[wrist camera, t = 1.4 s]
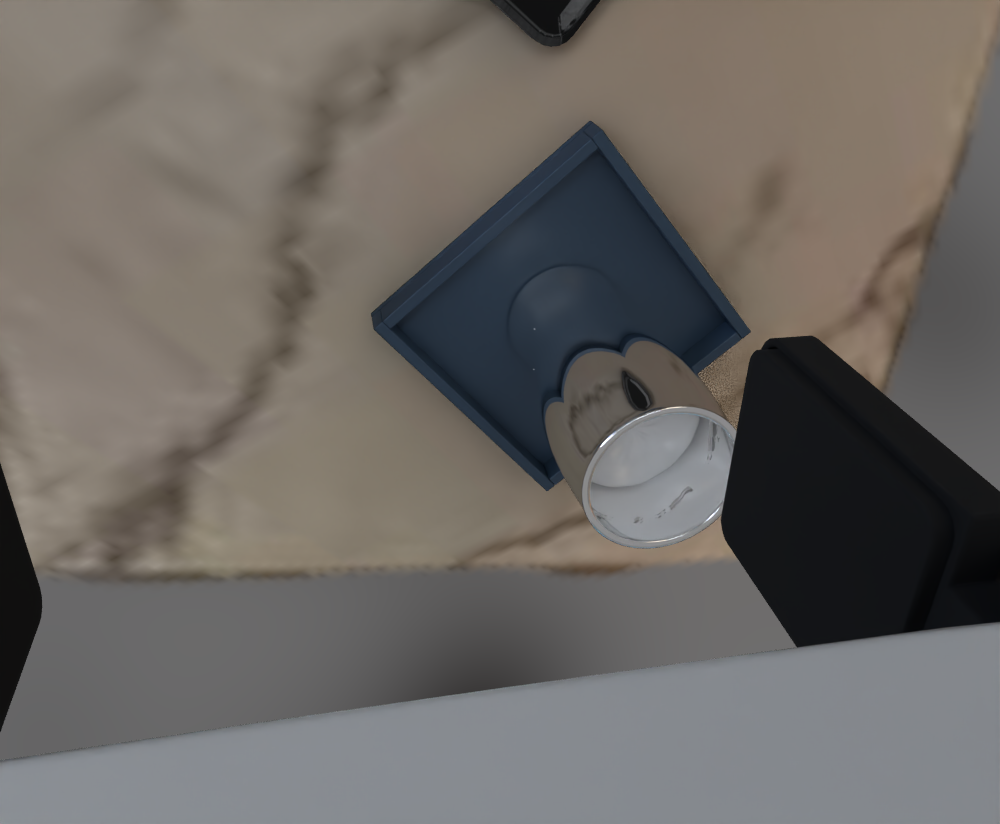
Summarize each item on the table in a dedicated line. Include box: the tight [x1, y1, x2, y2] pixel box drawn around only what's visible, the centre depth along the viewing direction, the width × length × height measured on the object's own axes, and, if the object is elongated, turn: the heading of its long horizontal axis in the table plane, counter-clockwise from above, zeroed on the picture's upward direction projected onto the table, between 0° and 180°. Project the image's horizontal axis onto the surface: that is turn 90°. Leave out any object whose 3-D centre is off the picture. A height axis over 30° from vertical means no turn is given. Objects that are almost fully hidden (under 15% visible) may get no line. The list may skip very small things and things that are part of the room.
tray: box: [371, 121, 751, 491], centre depth 45 cm, size 14×14×2 cm
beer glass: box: [508, 265, 737, 548], centre depth 39 cm, size 7×7×15 cm
